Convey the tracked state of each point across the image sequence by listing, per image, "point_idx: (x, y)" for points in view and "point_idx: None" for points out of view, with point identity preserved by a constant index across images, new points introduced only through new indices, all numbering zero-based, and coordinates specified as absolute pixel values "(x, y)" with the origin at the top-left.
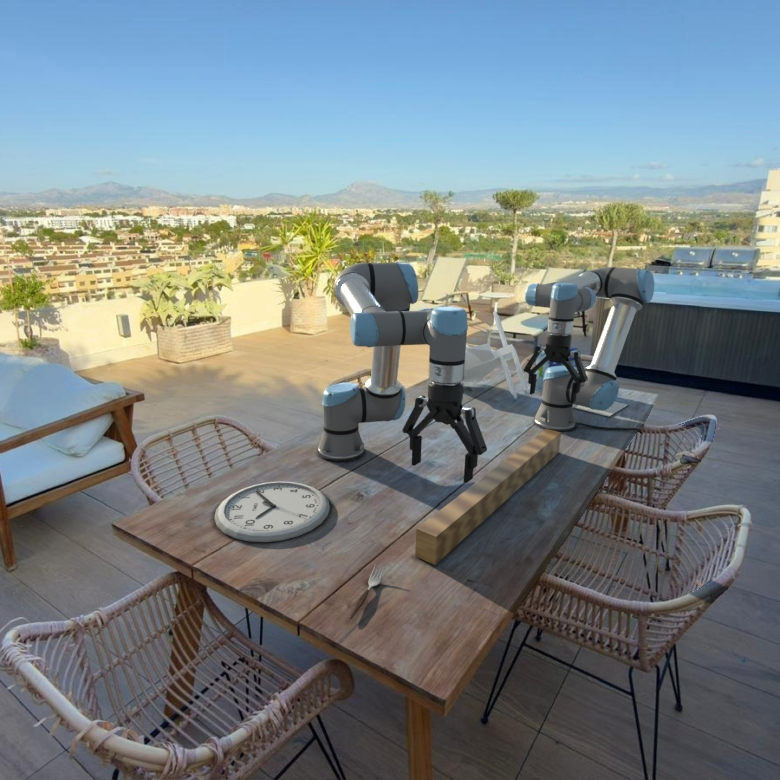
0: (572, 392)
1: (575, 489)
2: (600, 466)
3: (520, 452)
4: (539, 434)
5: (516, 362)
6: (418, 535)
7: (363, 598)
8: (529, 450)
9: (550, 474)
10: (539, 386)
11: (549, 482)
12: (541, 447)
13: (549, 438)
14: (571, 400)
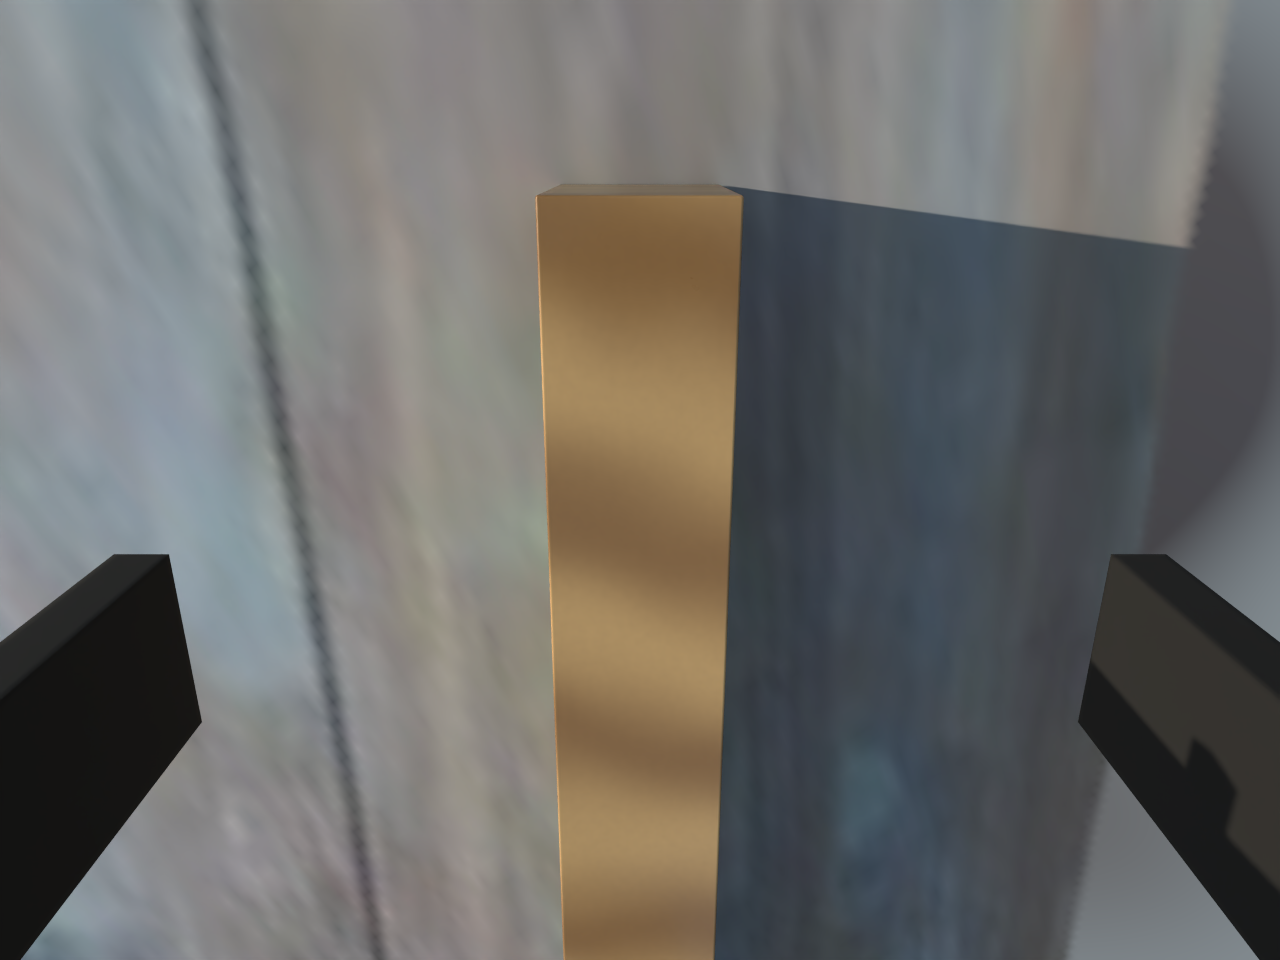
0: (1242, 904)
1: (1015, 756)
2: (1140, 250)
3: (600, 926)
4: (554, 436)
5: None
6: None
7: None
8: (645, 852)
9: (800, 654)
10: None
11: (833, 766)
12: (709, 737)
13: (691, 479)
14: (1122, 753)
